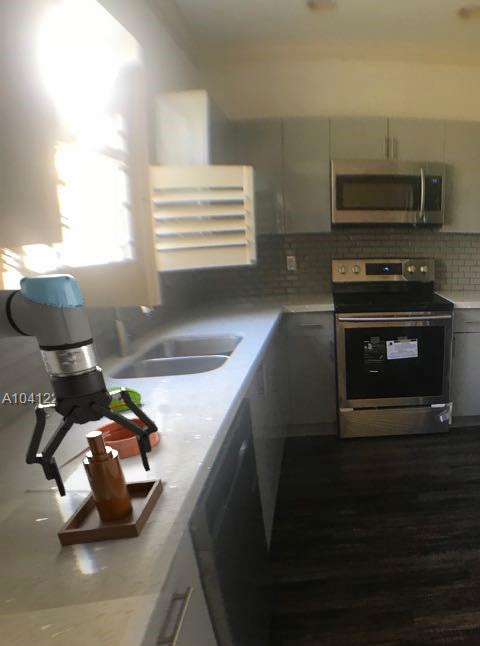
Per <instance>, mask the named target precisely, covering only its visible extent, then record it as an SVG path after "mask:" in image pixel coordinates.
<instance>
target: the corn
mask: <svg viewBox="0 0 480 646" xmlns="http://www.w3.org/2000/svg"><path fill="white" fill-rule="evenodd" d="M121 387H122V386H120V387H117V386H114V387H110V388H107V391H108V392H109V393H111V392H114V391H117V390H119V389H120V388H121ZM124 387H125V386H124ZM125 388H126V389H127V391H128V392H129V395H130V397H131V399H132V400H133V401H134V402H135V404H136V405H137V406H139V405H140V403H141V401H142V394H141V393H140V392H139V391H137V390H135V389H132V388H129V387H125ZM109 407H110V408H112V409H113V410H114V411H116V412H118V413H119V412H123V411H126V410H130V409H129V408H128V407H127V406H126V404H125V403H124V402H119V401H118V400H117V399H112V402H111V404H110V406H109Z"/></svg>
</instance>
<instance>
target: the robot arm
mask: <svg viewBox="0 0 480 646" xmlns="http://www.w3.org/2000/svg"><path fill="white" fill-rule="evenodd" d="M19 287H20V289H19V288H18V289H0V340H3V339H5V338H6V339H7V338H11V337H12V338H13V337H14V338H15V337H16V338H17V337H35V339H36V341H37V344H38V347H39V350H40V354H41V357H42V360H43V363H44V366H45V370H46V373H49V374H50V375H49V377H48V381H49V383H50V386H51V389H52V392H53V395H54V399H55V402H54V403H53V404H42V403H36V404H35V406H34V411H35V422H34V424H33V429H32V432H31V436H30V438H29V443H28V446H27V450H26V453H25V463H26V464H27V465H33V464H39V465H40V466H41V467H42V471H43V473H44V477H45V479H46V480H47V481H51V480H54V481H55V485H56V487H57V490H58V493H59V496H60V498H62V497H66V496H67V493H66V487H65V485H64V482H63V478H62V476H61V475H62V474H61V472H60V469H59V467H58V463H57V461H56V458H55V456H54V454H55V453H56V451H57V450H58V448H59V446H60V445H61V443H63V440H64V439H65V437H66V436H67V434H68V433H69V431H70V430H71V429H72V428H73V426H74V424H76V425H79V426H81V425H85V424H87V423H90V422H99V421H101V420H102V419H104V418H107V419H108V420H110V421H113V422H116V423H118V424H120V425H121V426H123V427H125V428H127V429H128V430H130V431H132V432H133V433H135V434H137V436H136V439H137V443H138V447H139V451H140V454H139V455H140V459H141V463H142V466H143V468H144V471H145V472H150V471H151V467H150V463H149V460H148V456H147V454H148V453H152V450H153V447H152V448H151V444H150V440H149V436H150V434H152V433H153V432H157V433H158V431H159V428H158V426H157V424H156V422H155V421H154V420H153V421H154V422H155V423H154V422H153V421H152V419H151V418H150V417H149V416H148V415H147V414H146V412H144V411H143V410H142V408H141V407H140V406H139V405H136V404H135V402H134V401H133V400H132V399H131V397H130V395H129V392H128V391H127V389H126V388H127V387H126V388H125V386H120V387H121V388H120V389H119V390H116V391H114V392H111V391H107V389H108V388H107V385H106V381H105V377H104V373H103V371H102V368H100V366H99V364H100V359H99V356H98V352H97V348H96V344H95V341H94V338H93V335H92V332H91V328H90V327H91V326H90V324H89V319H88V314H87V310H86V302H85V299H84V298H83V295H82V292H81V289H80V287H79V284H78V281H77V279H76V278H75V277H74V276H73V275H72V274H71V275H70V274H67V273H57V274H56V273H54V274H40V275H39V274H38V275H30V276H24V277H22V278H20V280H19ZM109 392H111V393H109ZM112 399H117V400H118V401H119V402H124V403H125V404H126V406H127V407H128V408H129V409H128V410H130V411H131V412H132V413H133V414H134V415H135V417H136V418H139V419H140V420H141V421H142V422H143V423H144V424H145V425H146V427H145V428H143V427H141V426H139V425H138V424H136V423H134V422H133V421H131V420H129V419H130V418H128V417H126V416H124V415H123V414H121V413H119V411H118V412H116V411H114V410H113V409H112V408H110V407H109V406H110V404H111V402H112ZM54 412H56V413H57V414H58V415H60V416H62V418H61V420H60V422H59V424H58V426H57V427H56V429H55V431H54V432H53V434H52V435H51V437H50V439H49V440H48V442H47V443H46V445H45V446H44V448H43V450H42V451H41V452H39V448H40V445H41V442H42V438H43V436H44V435H43V434H44V431H45V428H46V424H47V423H46V422H47V419H50V418H51V417H52V414H53V413H54ZM38 452H39V453H38Z"/></svg>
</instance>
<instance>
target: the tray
mask: <svg viewBox="0 0 480 646" xmlns="http://www.w3.org/2000/svg"><path fill="white" fill-rule="evenodd" d="M126 484H127V487H128V491H129V495H130V498H131V502H132V505H133V510H132V512H131V513H130V514H129V515H127V516H125V517H123V518H121V519H119V520H115V521H102V520H101V519H100V517H99V514H98V510H97V507H96V504H95V501H94V497H93V494H92V491H91V490H90V492H89V493H88V494H87V496H86V497H85V498H84V499H83V500H82V502H81V503H80V504H79V506H78V507H77V508H76V509H75V511H74V512H73V513H72V514H71V516H70V517H69V518H68V519H67V521H66V522H65V523H64V525H62V527H61V528H60V530H59V531H58V532H57V534H56V535H57V537H58V541H59V543H60V545H61V547H63V546H64V547H65V546H72V545H79V544H80V545H82V544H88V543H95V542H104V541H112V540H121V539H128V538H136V537H139V536H140V535H141V533H142V531H143V529H144V528H145V525H146V523H147V521H148V520H149V518H150V516H151V515H152V513H153V510H154V508H155V506H156V505H157V502H158V500H159V499H160V497H161V495H162V494H163V491H164V489H163V487H164V486H163V482H162V478H156V479H155V478H154V479H145V480H138V481H128V482H127V481H126Z"/></svg>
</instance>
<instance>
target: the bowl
mask: <svg viewBox="0 0 480 646" xmlns="http://www.w3.org/2000/svg"><path fill="white" fill-rule="evenodd" d="M128 419H129V420H131V421H133V422H134V423H136V424H138V425H139V426H141V427H143V428H145V427H146V425H145V424H144V423H143V422H142V421H141V420H140V419H139V418H138V417H134V418H128ZM151 420H152V419H151ZM152 421H153V422H154V423H155V424H156V421H154V420H152ZM96 431H100V432H102V435H103V439H104V443H105V446H106V447H110V448H111V449H112V450H116V451H117V452H118V455H119V458H120V460H121V459H126V458H131V457H134V456H137V455H140V451H139V447H138V443H137V439H136V436H137V434H135V433H133V432H132V431H130V430H128V429H127V428H125V427H123V426H121V425H120V424H118V423H116V422H114V421H113V422H109V423H105V424H104V425H101V426H99V427H97V428H96V429H94V430H92V432H96ZM149 440H150V444H151V448H152V449H153V448H154V447H155V446H156V445H157V444H159V440H160V438H159V434H158V431H157V432H153V433H152V434H150V436H149Z"/></svg>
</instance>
